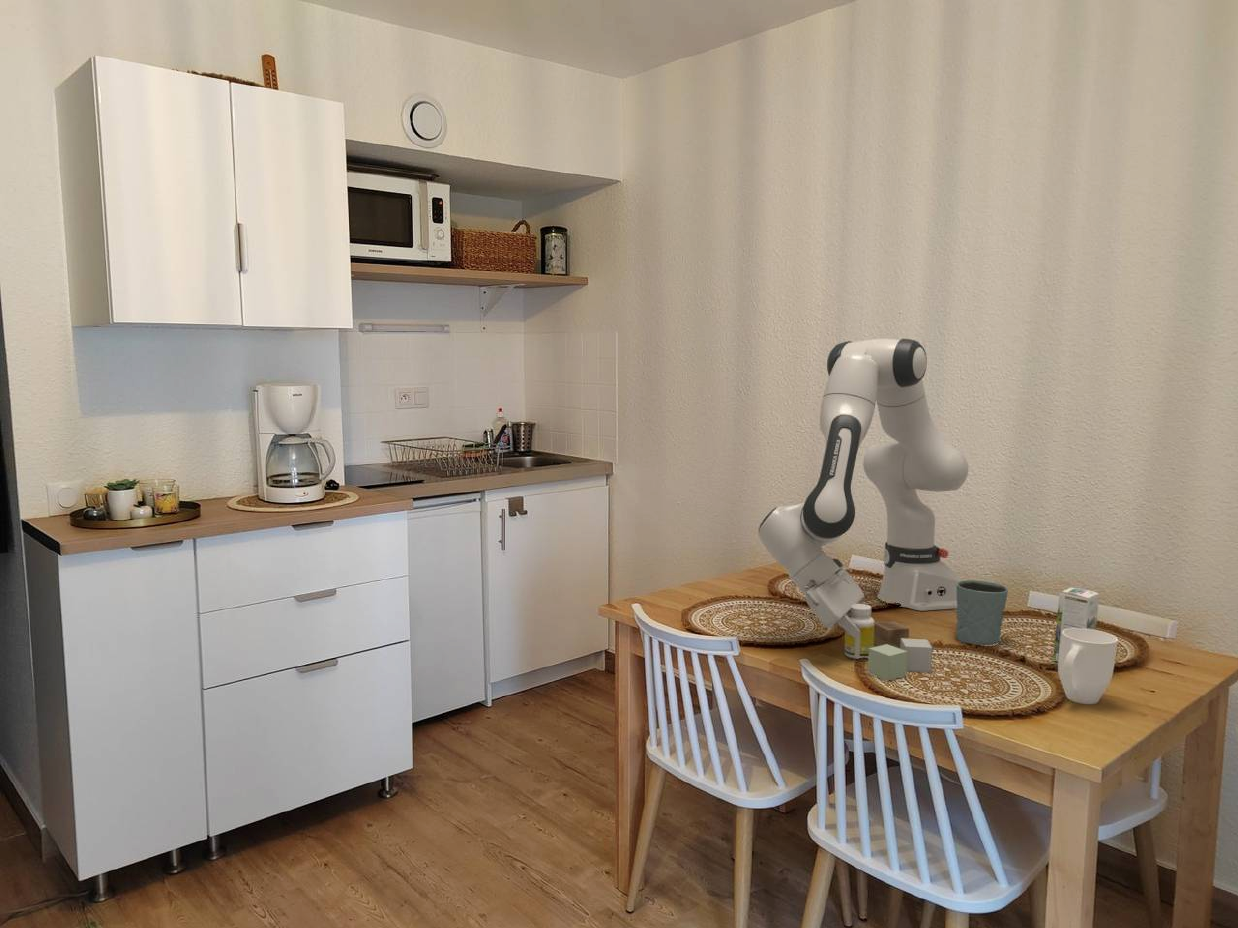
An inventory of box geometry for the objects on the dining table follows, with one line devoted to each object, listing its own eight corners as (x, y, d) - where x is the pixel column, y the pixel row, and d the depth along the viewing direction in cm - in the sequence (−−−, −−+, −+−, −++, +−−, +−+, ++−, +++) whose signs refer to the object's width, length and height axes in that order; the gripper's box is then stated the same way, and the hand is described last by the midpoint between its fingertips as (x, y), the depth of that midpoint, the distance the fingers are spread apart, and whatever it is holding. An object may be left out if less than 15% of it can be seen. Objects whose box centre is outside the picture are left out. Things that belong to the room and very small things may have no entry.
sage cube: (885, 668, 176) (886, 644, 176) (906, 676, 172) (907, 651, 171) (867, 673, 173) (868, 648, 173) (888, 681, 169) (889, 655, 169)
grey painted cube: (925, 663, 179) (926, 639, 179) (930, 672, 174) (932, 647, 174) (899, 662, 180) (900, 638, 179) (904, 671, 175) (905, 646, 174)
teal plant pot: (943, 635, 197) (946, 581, 196) (981, 631, 200) (985, 578, 199) (975, 649, 188) (978, 593, 186) (1015, 645, 191) (1018, 590, 189)
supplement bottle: (875, 653, 185) (877, 604, 184) (870, 661, 180) (872, 611, 178) (847, 649, 187) (849, 601, 186) (841, 657, 182) (843, 608, 181)
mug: (1068, 685, 168) (1075, 623, 166) (1118, 701, 161) (1126, 636, 159) (1038, 700, 160) (1045, 635, 158) (1090, 717, 154) (1097, 650, 152)
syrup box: (1063, 655, 185) (1068, 586, 183) (1094, 662, 181) (1099, 591, 179) (1052, 661, 181) (1057, 591, 179) (1084, 669, 177) (1089, 597, 175)
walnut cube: (893, 644, 191) (894, 621, 190) (908, 651, 186) (909, 628, 186) (873, 646, 190) (874, 623, 189) (887, 654, 185) (888, 630, 184)
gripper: (813, 578, 176) (861, 635, 172) (841, 557, 193) (886, 608, 190) (790, 597, 178) (837, 653, 175) (820, 575, 196) (863, 625, 193)
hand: (862, 630), depth 183 cm, fingers closed on supplement bottle, 6 cm apart
